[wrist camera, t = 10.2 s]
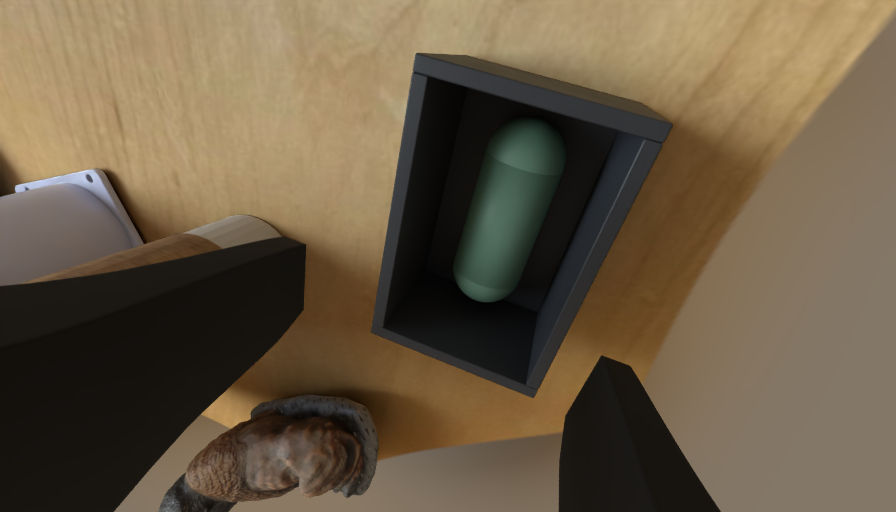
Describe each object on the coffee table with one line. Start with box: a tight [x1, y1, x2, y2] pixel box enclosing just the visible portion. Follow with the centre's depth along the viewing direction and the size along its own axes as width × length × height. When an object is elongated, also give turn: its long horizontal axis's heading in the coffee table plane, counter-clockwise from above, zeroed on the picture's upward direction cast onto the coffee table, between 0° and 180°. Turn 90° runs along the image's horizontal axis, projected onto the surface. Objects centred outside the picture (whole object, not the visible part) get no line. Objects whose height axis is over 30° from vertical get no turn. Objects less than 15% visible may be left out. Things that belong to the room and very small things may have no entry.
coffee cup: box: [20, 215, 282, 284], centre depth 17 cm, size 8×8×15 cm
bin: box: [371, 53, 673, 398], centre depth 15 cm, size 10×7×6 cm, turn 167°
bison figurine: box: [159, 394, 379, 512], centre depth 24 cm, size 12×7×10 cm, turn 118°
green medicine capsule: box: [453, 117, 566, 302], centre depth 16 cm, size 8×3×3 cm, turn 166°
